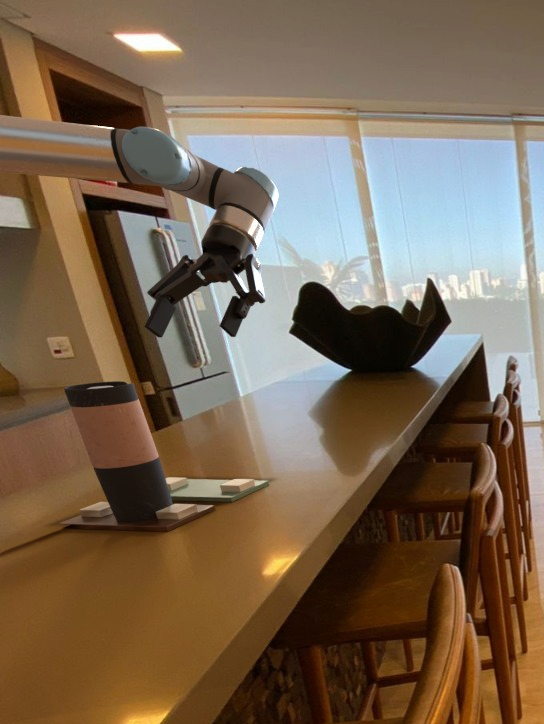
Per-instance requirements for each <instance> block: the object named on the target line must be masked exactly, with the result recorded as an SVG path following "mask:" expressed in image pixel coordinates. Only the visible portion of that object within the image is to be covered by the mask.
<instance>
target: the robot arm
mask: <svg viewBox="0 0 544 724" xmlns="http://www.w3.org/2000/svg"><path fill="white" fill-rule="evenodd" d="M0 173H3V174H5V173H6V174H15V175H29V176H38V177H39V176H40V177H54V178H64V179H78V180H88V181H89V180H90V181H101V182H115V183H125V184H126V183H127V184H134V185H143V186H153V187H154V186H155V187H161V188H163V189H164V190H167V191H171V192H173V193H176V194H177V195H180V196H183V197H185V198H187V199H189V200H192V201H194V202H196V203H198V204H201V205H203V206H206V207H208V208H210V209H212V210H214V211H215V213H214V214H213V216H212V218H211V219H210V222H209V224H208V225H209V226H208V228H207V229H206V231H205V233H204V234H203V237H202V239H201V240H200V241H201V242H200V244H201V245H200V247H201V251H202V253H201V255H200V256H199V257H197V258H191V256H189V255H188V254H184V255H183V256H182V257H181V258H180V260H179V261H178V263H177V264H175V266H174V267H172V268H171V269H170V271H168V272H167V273H166V274H165V275H164V276H163V277H162V278H160V279H159V280H158V281H157V282H156V283H155V284H154V285H153V286H152V287H151V288H149V290H147V292H146V294H147V295H148V296H149V297H151V298H152V299H153V300H154V303H153V305H152V307H151V310H150V312H149V314H150V315H149V316H148V319H147V320H146V322H145V324H144V328H145V329H146V330H148V331H149V332H150V333H151V334H153V335H154V336H156V337H157V338H163V337H164V334H165V333H166V330H167V328H168V326H169V324H170V323H171V320H172V318H173V316H174V314H175V312H176V310H177V307H176V306H175V305H176V304H178V303H179V302H181V301H182V300H183V299H185V298H186V297H188V296H190V295H191V294H192V293H194V292H195V291H197V290H199V289H200V288H201V287H208V286H210V285H211V284H216V283H221V284H227V283H228V282H230V284H231V286H232V287H233V290H234V291H235V293H236V295H232V296H231V298H230V301H229V303H228V305H227V308H226V309H225V312H224V315H223V317H222V319H221V321H220V322H219V323H220V324H219V327H220V328H221V329H222V331H224V332H225V333H226V334H227V335H229V336H230V337H231V338H236V337H237V335H238V333H239V330H240V327H241V325H242V323H243V320H245V319H246V318H247V316H248V315H249V312H250V309H251V307H253V306H255V305H256V303H259V304H264V303H266V301H267V300H266V294H265V289H264V284H263V279H262V274H261V273H262V270H263V264H262V263H261V262H260V261H259V260H258V258H256V256H255V255H256V252H257V250H258V247H259V245H260V243H261V241H262V239H263V236H264V234H265V232H266V229H267V227H268V225H269V224H270V221H271V219H272V217H273V215H274V213H275V208H276V206H277V203H278V200H279V191H278V188H277V186H276V184H275V183H274V181H273V180H272V179H271V178H270V177H269V176H267V174H265V173H264V172H262V171H260V170H259V169H256V168H254V167H247V166H241V167H238V168H237V169H236V170H235V171H234V172H233V171H230V170H228V169H226V168H223V167H220V166H218V165H217V164H214V163H212V162H210V161H208V160H206V159H204V158H202V157H200V156H198V155H196V154H194V153H192V152H191V151H190V150H188V149H187V148H185V147H184V146H183V145H182V144H181V143H180V142H179V141H178V140H176V139H175V138H174V137H172V136H171V135H170V134H168V133H165V132H164V131H162V130H159V129H156V128H153V127H149V126H136V127H133V128H131V129H125V128H115V127H109V126H100V125H99V126H98V125H90V124H82V123H73V122H64V121H57V120H47V119H38V118H29V117H20V116H12V115H2V114H0ZM244 271H245V277H246V282H247V287H248V289H247V287H246V285H245V284H244V280H243V279H242V277H241V276H240V274H241V273H243V272H244ZM199 272H200V275H201V276H202V277H203V278H202V277H201V276H199V274H198V273H199Z"/></svg>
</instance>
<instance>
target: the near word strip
mask: <svg viewBox="0 0 544 724" xmlns="http://www.w3.org/2000/svg"><path fill="white" fill-rule="evenodd" d="M214 511H216V507H215V504H214V505H213V504H196V503H194V504H193V503H173V505H171V506H169V507H166V508H164V509H162V510H159V511H157V512H156V515H157V518H154V519H151V520H146V521H140V522H130V523H124V522H118V521H117V520H116V519H115V517H114V514H113V512H112V510H111V508H110V505H109V503H108V501H99V502H97V503H94V504H91V505H89V506H86V507H83V508H80V509H78V512H79V514H80V515H77V516H75V517H72V518H69V519H66V520H64V521H60V522H59V524H63V525H64V524H66V525H67V526H64V527H62V529H71V530H72V529H73V530H104V531H131V532H133V531H134V532H135V531H136V532H166V533H167V532H171V531H172V530H174V529H175V530H176V529H177V528H179V527H181V526H183V525H185V524H187V523H190V522H192V521H195V520H197V519H198V518H201V517H203V516H205V515H207V514H209V513H211V512H214Z"/></svg>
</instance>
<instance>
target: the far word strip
mask: <svg viewBox="0 0 544 724" xmlns="http://www.w3.org/2000/svg"><path fill="white" fill-rule="evenodd" d="M165 479H166V482H167V485H168V489H169V492H170V496H171V499H172V501H176V502H177V501H179V502H182V501H183V502H217V503H218V502H220V503H221V502H222V503H233V502H235V501H238V500H240V499H241V498H244V497H246V496H248V495H251V494H252V493H255V492H256V491H259V490H261V489H264V488H265V487H268V486H269V485H270V483H269V480H255V479H254V478H234V479H209V478H208V479H207V478H206V479H205V478H204V479H203V478H188V477H175V476H173V477H172V476H170V477H169V476H168V477H165Z"/></svg>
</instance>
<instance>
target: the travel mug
mask: <svg viewBox="0 0 544 724" xmlns="http://www.w3.org/2000/svg"><path fill="white" fill-rule="evenodd" d="M64 393H65V397H66V399H67V401H68V404H69V407H70V410H71V413H72V415H73V417H74V419H75V423H76V425H77V428H78V431H79V434H80V436H81V439H82V442H83V444H84V447H85V450H86V452H87V455H88V457H89V461H90V463H91V465H92V467H93V470H94V473H95V475H96V478H97V480H98V482H99V484H100V487H101V489H102V491H103V494H104V496H105V498H106V502H108V503H109V505H110V508H111V510H112V512H113V514H114V517H115V519H116V520H117V521H118V522H124V523H130V522H140V521H146V520H151V519H154V518H157V515H156V512H157V511H159V510H162V509H164V508H166V507H169V506H171V505H173V504H174V503H173V500H172V499H171V496H170V492H169V489H168V485H167V482H166V479H165V478H166V475H165V473H164V469H163V465H162V462H161V459H160V457H159V456H160V455H159V453H158V449H157V446H156V445H155V441H154V439H153V436H152V433H151V430H150V427H149V424H148V422H147V418H146V416H145V413H144V410H143V408H142V404H141V401H140V400H139V396H138V393H137V390H136V387H135V384H134V382H130V383H128V382H127V381H121V380H116V381H98V382H88V383H81V384H76V385H69V386H66V387H64Z"/></svg>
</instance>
